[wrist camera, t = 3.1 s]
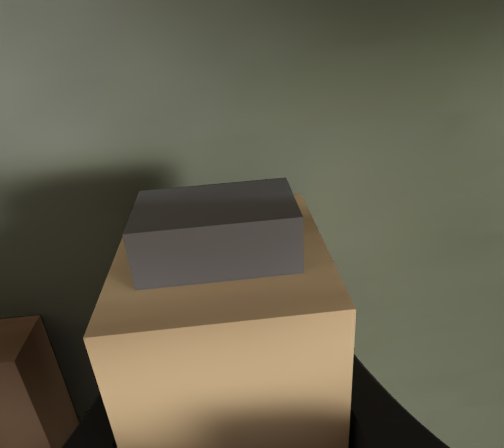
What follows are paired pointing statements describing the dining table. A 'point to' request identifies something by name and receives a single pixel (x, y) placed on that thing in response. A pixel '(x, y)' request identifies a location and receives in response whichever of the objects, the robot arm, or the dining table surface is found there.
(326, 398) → the tan rectangular block
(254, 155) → the dining table surface
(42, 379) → the brown rectangular panel
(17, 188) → the dining table surface
